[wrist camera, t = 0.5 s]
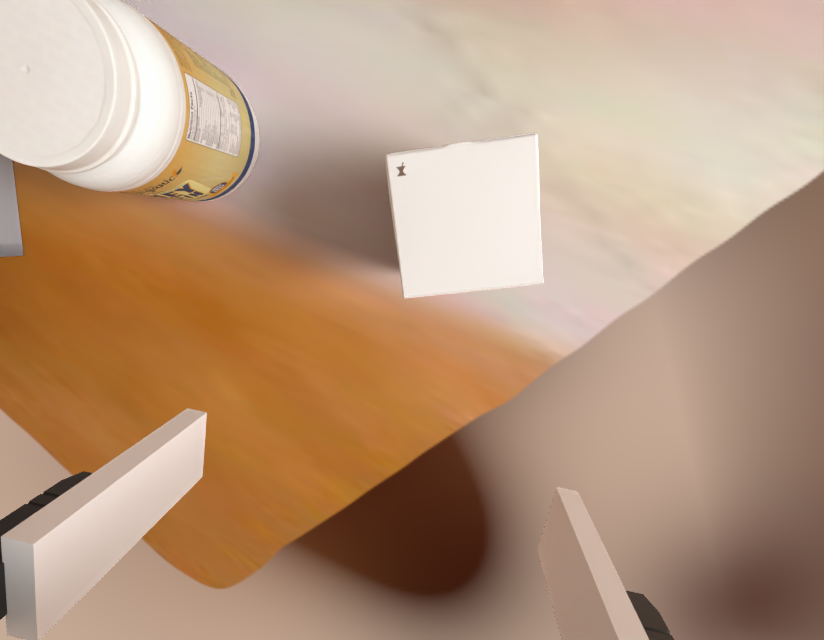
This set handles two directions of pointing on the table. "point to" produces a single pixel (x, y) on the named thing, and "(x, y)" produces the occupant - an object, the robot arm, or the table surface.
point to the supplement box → (467, 215)
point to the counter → (9, 211)
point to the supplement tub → (119, 103)
